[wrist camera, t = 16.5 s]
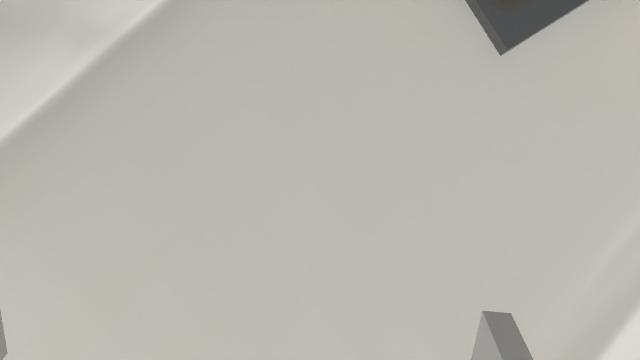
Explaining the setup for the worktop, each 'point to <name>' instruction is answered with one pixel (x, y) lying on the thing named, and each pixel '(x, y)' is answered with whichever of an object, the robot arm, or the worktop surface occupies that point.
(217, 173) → the worktop surface
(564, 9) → the plate
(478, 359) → the robot arm
